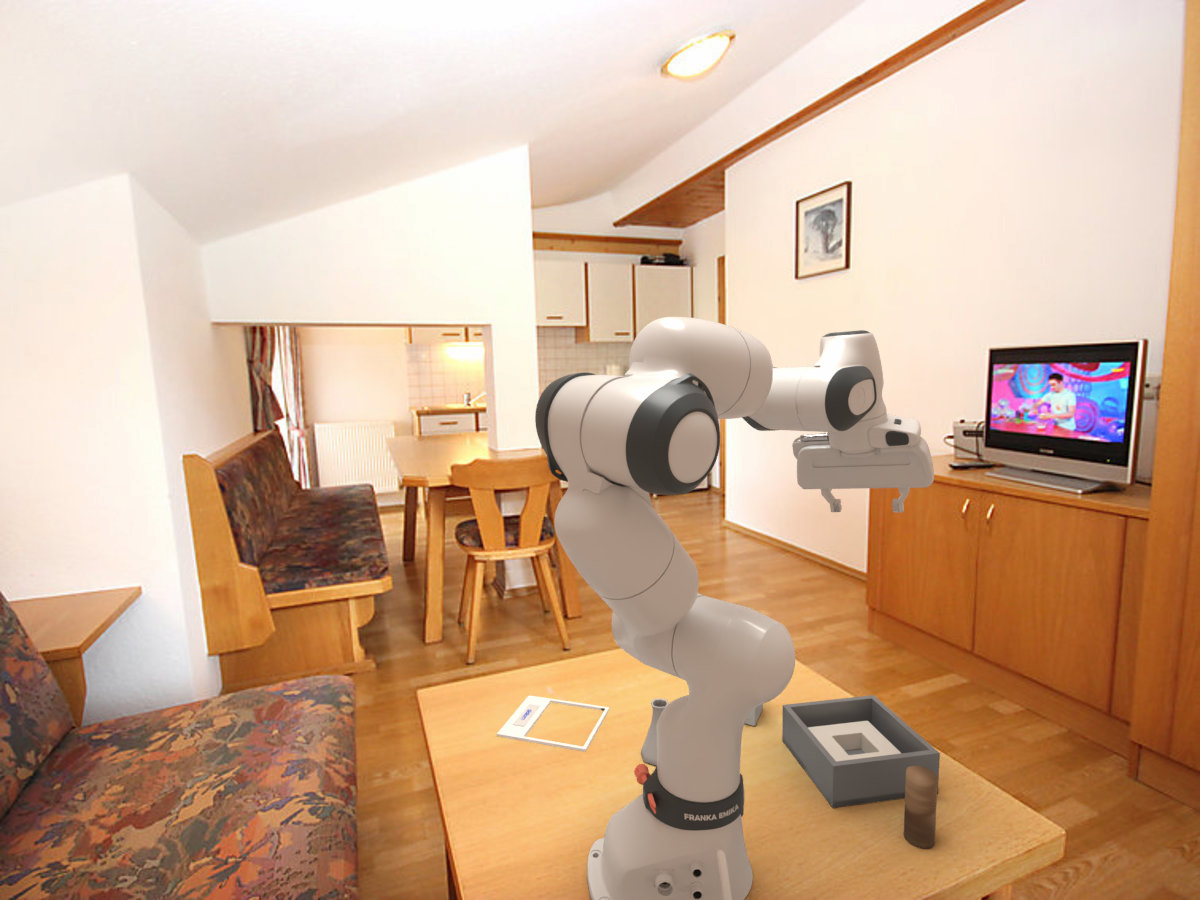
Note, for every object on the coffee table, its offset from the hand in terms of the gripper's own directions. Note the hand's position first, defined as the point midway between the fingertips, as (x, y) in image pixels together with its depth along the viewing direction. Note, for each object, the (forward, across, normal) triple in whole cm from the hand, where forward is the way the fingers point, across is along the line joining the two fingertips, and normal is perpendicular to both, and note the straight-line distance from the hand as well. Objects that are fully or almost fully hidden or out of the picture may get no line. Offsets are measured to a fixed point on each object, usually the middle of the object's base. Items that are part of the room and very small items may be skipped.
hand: (866, 511), depth 101 cm
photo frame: (+36, -58, -24) cm, 72 cm away
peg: (+41, +6, -24) cm, 48 cm away
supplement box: (+43, -27, -5) cm, 51 cm away
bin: (+43, -5, -11) cm, 45 cm away
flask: (+37, -35, -24) cm, 56 cm away
